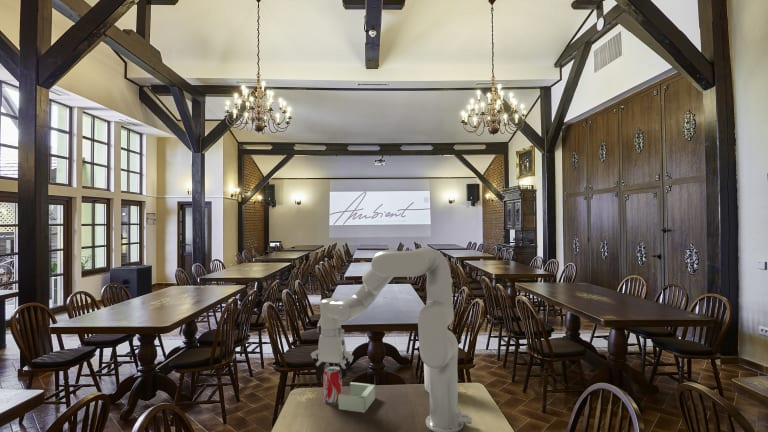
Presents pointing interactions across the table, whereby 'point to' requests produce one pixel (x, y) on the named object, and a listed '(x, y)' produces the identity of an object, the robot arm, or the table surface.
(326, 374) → the soda can
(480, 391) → the table surface
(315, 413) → the table surface
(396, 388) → the table surface
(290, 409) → the table surface
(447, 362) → the robot arm
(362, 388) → the collar
